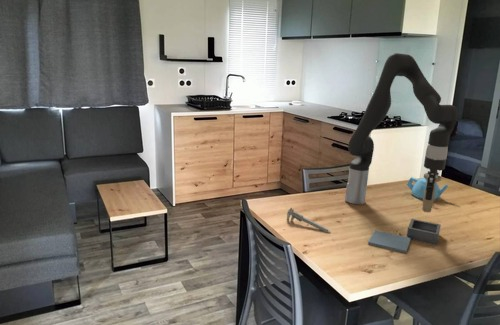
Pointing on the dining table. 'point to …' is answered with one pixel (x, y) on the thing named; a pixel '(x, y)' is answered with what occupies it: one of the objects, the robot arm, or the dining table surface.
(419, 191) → the teapot
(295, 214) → the caliper
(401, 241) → the rubber mat
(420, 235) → the socket block
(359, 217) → the dining table surface
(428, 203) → the handle
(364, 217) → the dining table surface
